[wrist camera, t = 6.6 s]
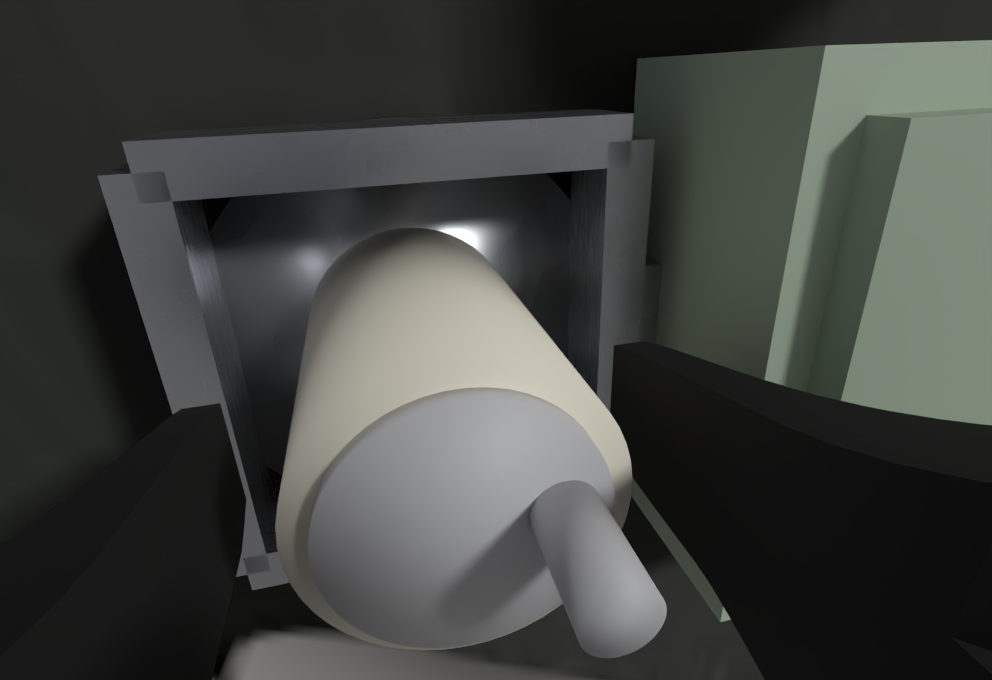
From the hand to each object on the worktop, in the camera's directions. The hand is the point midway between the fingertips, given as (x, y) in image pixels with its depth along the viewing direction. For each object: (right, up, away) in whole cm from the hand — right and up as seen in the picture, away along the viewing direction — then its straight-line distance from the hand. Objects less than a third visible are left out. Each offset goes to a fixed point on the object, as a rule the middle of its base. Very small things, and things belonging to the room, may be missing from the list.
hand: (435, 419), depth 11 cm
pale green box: (+9, +3, +7) cm, 12 cm away
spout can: (-1, +2, +3) cm, 4 cm away
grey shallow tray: (-1, +2, +4) cm, 5 cm away
